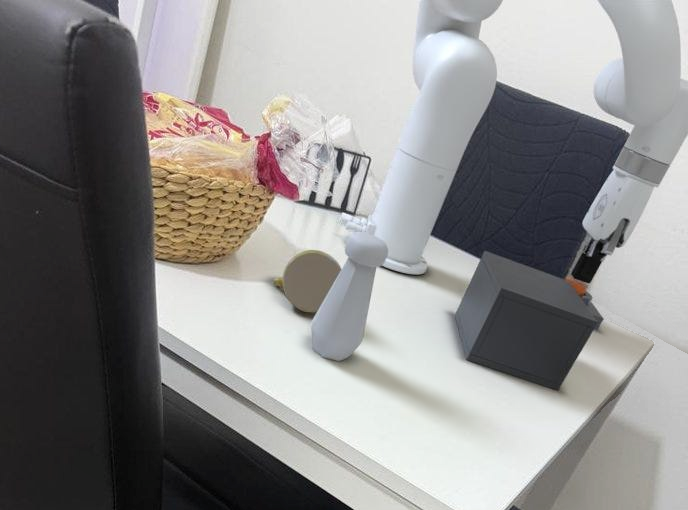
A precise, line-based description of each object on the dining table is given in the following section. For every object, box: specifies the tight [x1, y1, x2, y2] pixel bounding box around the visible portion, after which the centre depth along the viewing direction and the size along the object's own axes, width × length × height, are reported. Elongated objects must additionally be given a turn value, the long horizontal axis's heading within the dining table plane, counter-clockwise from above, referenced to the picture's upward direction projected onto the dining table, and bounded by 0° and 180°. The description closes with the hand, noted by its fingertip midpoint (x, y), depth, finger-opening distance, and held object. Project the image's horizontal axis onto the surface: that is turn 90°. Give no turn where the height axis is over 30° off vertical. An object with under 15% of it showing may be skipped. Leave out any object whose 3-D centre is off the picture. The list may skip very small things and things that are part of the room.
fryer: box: [454, 250, 598, 391], centre depth 93 cm, size 15×13×10 cm
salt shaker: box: [310, 232, 388, 362], centre depth 74 cm, size 6×6×13 cm
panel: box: [578, 290, 604, 331], centre depth 121 cm, size 11×9×4 cm
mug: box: [273, 249, 342, 314], centre depth 85 cm, size 8×10×10 cm
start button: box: [564, 275, 589, 296], centre depth 120 cm, size 4×4×2 cm
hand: (580, 279), depth 119 cm, fingers closed
